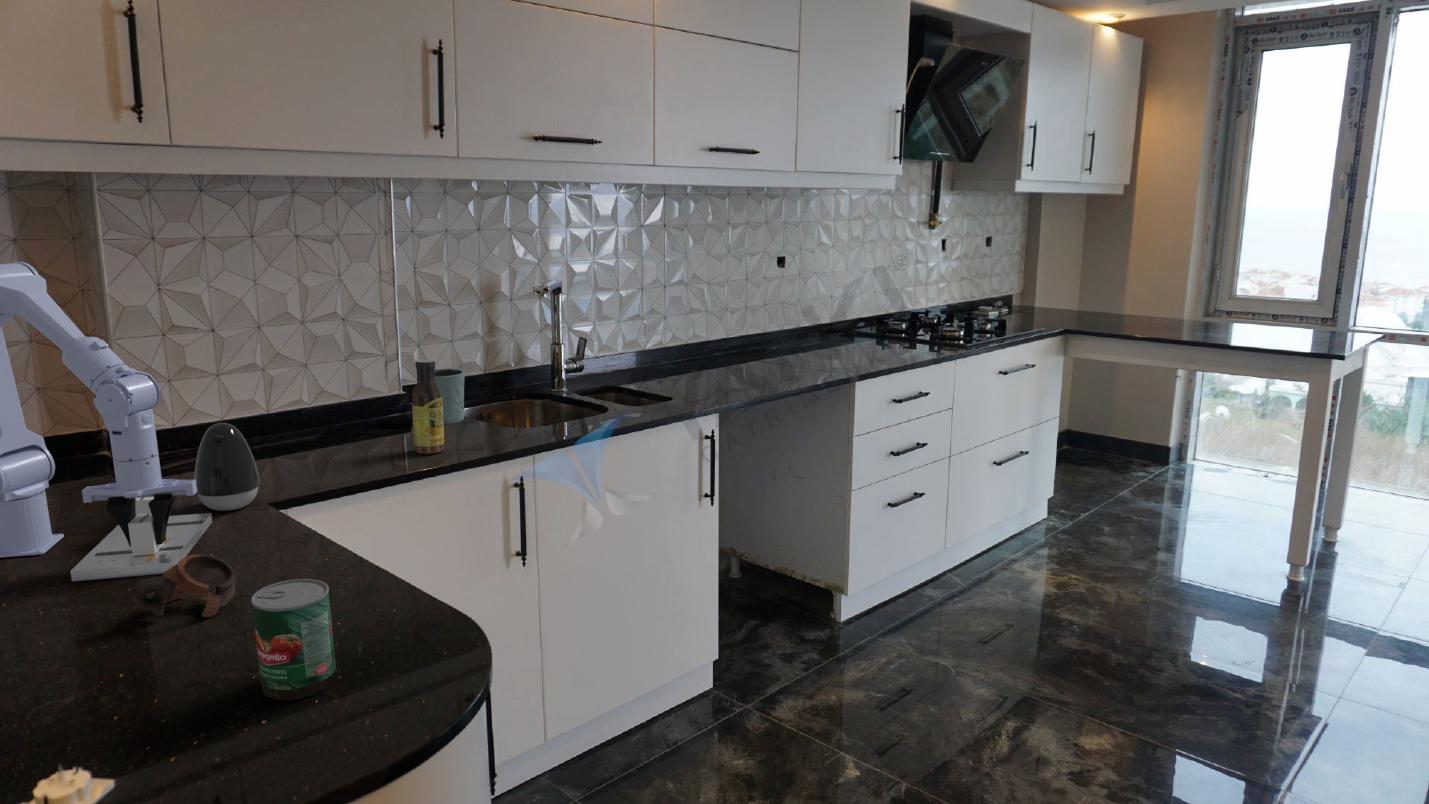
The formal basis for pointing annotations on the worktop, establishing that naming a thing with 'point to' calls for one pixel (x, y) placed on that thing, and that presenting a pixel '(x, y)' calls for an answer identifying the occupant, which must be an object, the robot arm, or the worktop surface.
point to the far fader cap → (143, 505)
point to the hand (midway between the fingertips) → (147, 543)
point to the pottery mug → (186, 586)
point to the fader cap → (143, 535)
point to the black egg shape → (225, 469)
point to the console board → (118, 560)
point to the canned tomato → (293, 633)
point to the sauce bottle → (427, 410)
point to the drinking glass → (451, 393)
